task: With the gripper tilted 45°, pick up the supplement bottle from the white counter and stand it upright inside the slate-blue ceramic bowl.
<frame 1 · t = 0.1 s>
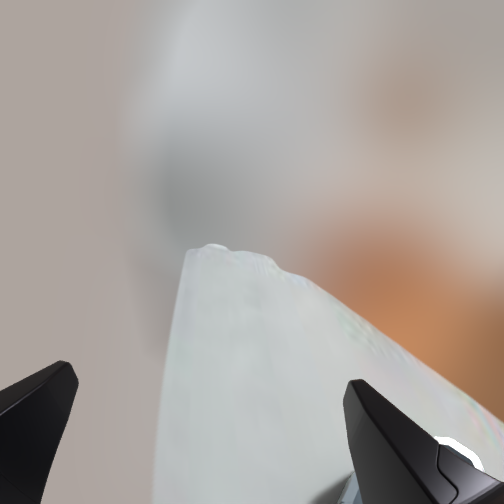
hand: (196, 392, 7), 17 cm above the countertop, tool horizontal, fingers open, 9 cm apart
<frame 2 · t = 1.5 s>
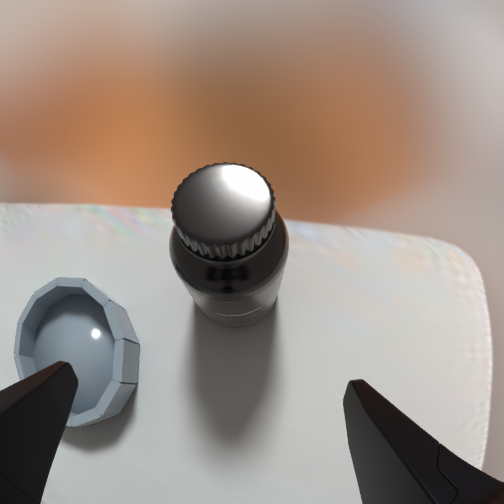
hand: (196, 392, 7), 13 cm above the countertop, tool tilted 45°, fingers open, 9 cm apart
supplement bottle: (237, 289, 23), on the countertop
bowl: (78, 354, 20), on the countertop
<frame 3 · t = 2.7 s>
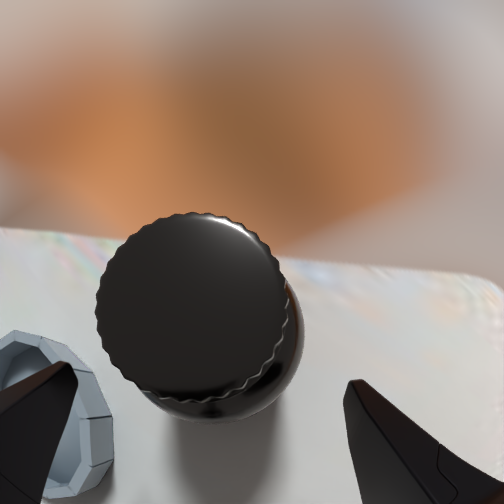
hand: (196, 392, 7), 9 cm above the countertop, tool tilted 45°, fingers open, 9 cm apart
supplement bottle: (229, 354, 17), on the countertop
bowl: (47, 416, 14), on the countertop
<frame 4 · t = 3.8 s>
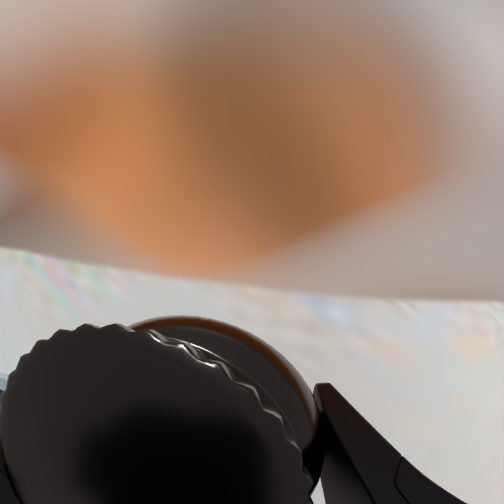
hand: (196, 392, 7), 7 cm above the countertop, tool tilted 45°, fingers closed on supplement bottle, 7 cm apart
supplement bottle: (222, 411, 13), on the countertop, touching gripper
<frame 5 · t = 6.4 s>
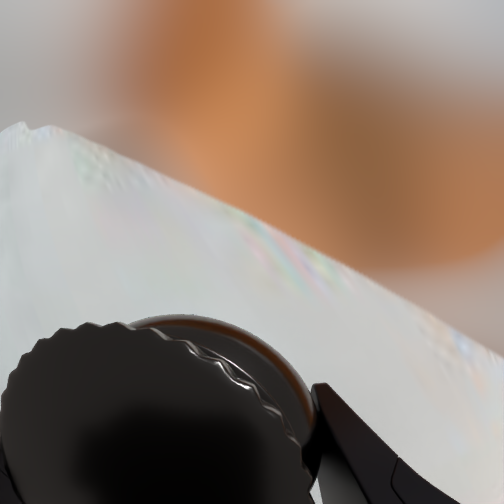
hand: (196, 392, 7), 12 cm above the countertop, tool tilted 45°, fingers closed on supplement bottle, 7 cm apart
supplement bottle: (219, 410, 13), point 5 cm above the countertop, touching gripper
when the fingers open (9 cm above the countertop, at t = 8.5 s): supplement bottle drops 1 cm, resting on bowl.
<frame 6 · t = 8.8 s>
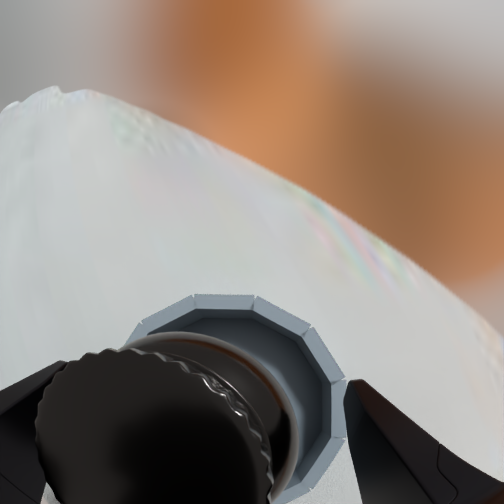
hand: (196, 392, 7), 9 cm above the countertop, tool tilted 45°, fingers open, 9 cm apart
supplement bottle: (217, 411, 14), point 1 cm above the countertop, touching bowl
bowl: (226, 408, 15), on the countertop
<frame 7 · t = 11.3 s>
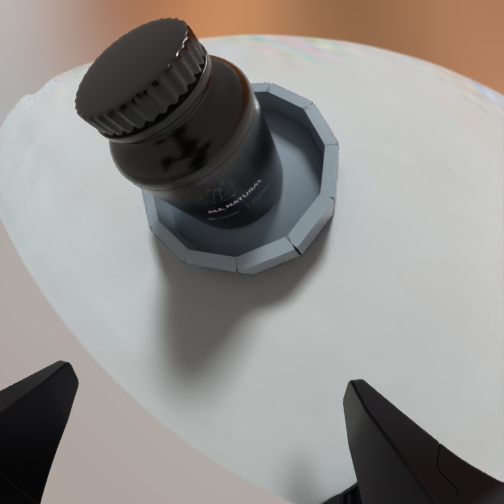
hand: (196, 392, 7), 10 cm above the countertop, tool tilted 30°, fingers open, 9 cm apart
supplement bottle: (236, 182, 18), point 1 cm above the countertop, touching bowl
bowl: (244, 180, 19), on the countertop
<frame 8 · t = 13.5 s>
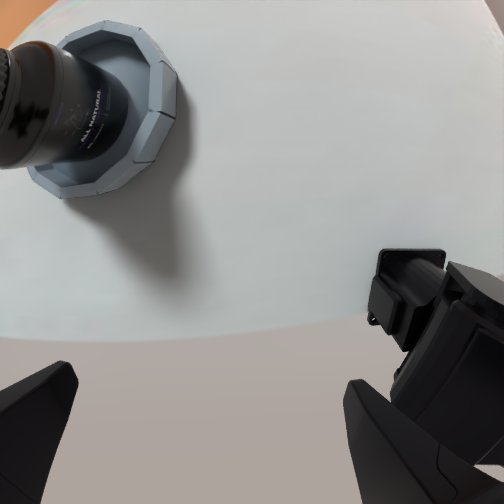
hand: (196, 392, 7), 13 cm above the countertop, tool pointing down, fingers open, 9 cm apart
supplement bottle: (93, 115, 16), point 1 cm above the countertop, touching bowl
bowl: (98, 109, 16), on the countertop
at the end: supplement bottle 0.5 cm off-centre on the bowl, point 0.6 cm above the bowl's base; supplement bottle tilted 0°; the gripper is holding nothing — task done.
